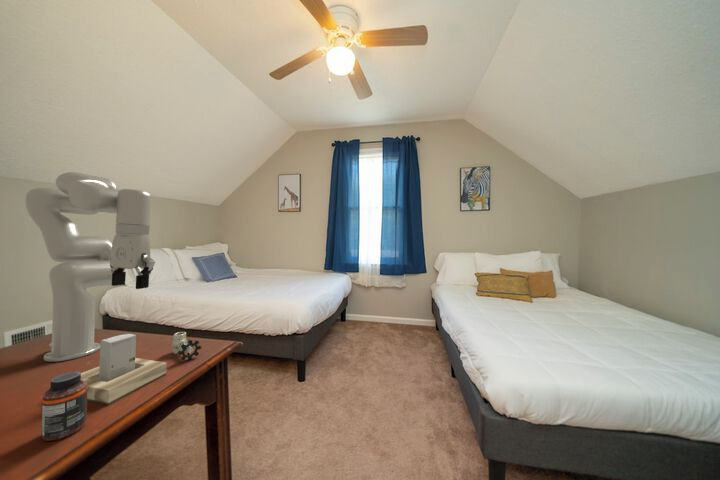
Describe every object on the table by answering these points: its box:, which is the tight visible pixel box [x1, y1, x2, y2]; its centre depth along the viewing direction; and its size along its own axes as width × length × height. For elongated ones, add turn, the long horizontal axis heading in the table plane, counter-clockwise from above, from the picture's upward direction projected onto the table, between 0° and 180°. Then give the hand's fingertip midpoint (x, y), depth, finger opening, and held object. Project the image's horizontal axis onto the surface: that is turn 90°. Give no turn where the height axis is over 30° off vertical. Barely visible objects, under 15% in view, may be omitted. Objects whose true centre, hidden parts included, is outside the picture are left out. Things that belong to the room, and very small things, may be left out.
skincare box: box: [99, 333, 137, 382], centre depth 67 cm, size 6×4×12 cm
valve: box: [171, 331, 203, 361], centre depth 85 cm, size 7×7×12 cm
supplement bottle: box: [40, 371, 88, 442], centre depth 50 cm, size 6×6×11 cm
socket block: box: [80, 357, 168, 406], centre depth 67 cm, size 16×14×4 cm
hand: (130, 286), depth 75 cm, fingers open, 9 cm apart
